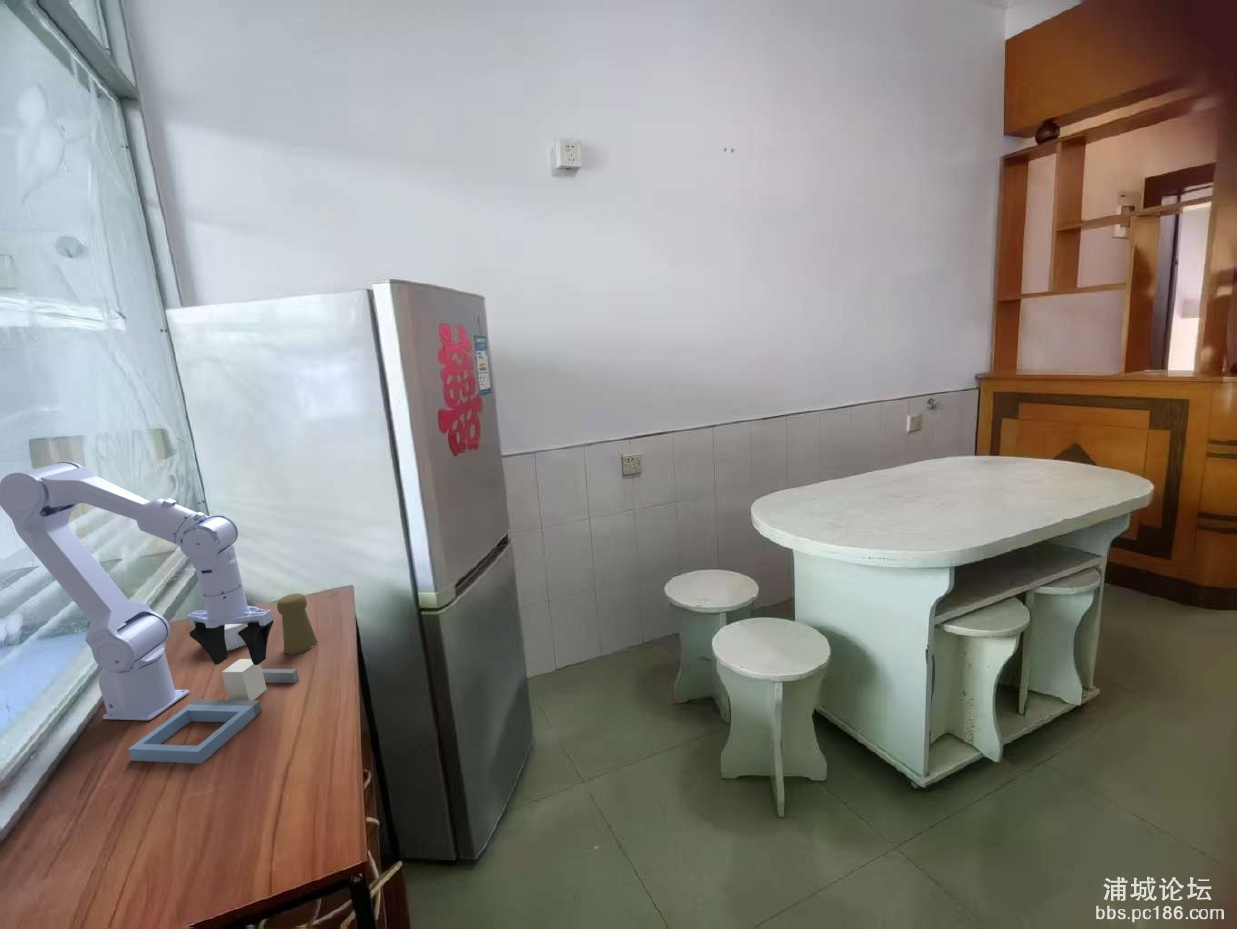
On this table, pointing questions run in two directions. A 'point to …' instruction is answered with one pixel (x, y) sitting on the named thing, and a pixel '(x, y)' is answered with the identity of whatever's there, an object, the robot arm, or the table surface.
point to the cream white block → (244, 680)
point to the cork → (295, 624)
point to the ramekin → (234, 636)
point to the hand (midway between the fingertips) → (240, 661)
